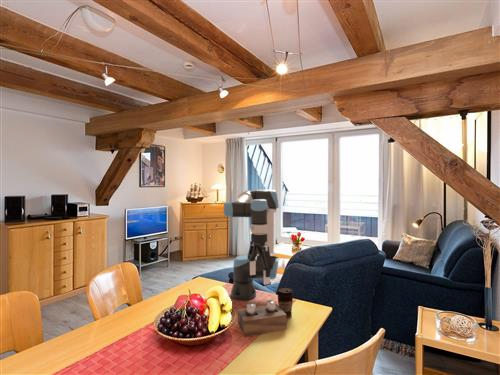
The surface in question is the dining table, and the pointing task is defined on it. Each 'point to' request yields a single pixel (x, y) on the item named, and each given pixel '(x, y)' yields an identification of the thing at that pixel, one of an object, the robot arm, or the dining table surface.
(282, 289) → the coffee cup
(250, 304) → the peg front
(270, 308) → the peg back
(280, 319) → the socket block
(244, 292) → the robot arm
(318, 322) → the dining table surface
